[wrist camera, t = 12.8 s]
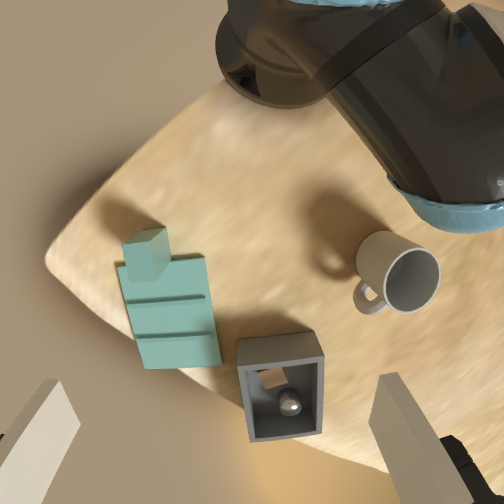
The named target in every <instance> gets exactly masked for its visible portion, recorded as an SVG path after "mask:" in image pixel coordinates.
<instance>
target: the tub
mask: <svg viewBox="0 0 504 504" xmlns="http://www.w3.org/2000/svg"><path fill="white" fill-rule="evenodd" d="M280 367H285V370H286V375H287V380H288V383H285V384H282V385H279V386H276V387H273V388H269V389H265V387H264V385H263V383H262V381H261V379H260V377H259V375H258V371H257V370H262V369H271V368H280ZM237 369H238V375H239V382H240V388H241V393H242V399H243V405H244V411H245V417H246V422H247V428H248V434H249V439H250V442H262V441H272V440H281V439H289V438H296V437H303V436H309V435H316V434H321V433H322V418H323V395H324V353H323V351H322V349H321V346H320V344H319V341H318V339H317V337H316V334H315V332H314V331H308V332H301V333H293V334H285V335H277V336H268V337H259V338H249V339H239V340H237ZM285 388H294V389H296V390H297V391H298V394H299V398H300V402H301V405H302V410H301V411H300V413H298V414H297V415H295V416H284V415H282V414H281V412H280V407H279V402H278V393H279V392H280V391H281V390H283V389H285Z"/></svg>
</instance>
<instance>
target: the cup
mask: <svg viewBox="0 0 504 504" xmlns="http://www.w3.org/2000/svg"><path fill="white" fill-rule="evenodd" d="M356 268H357V271H358V274H359V275H360V277H361V278H362V280H361V281H360V282H359V283H358V284H357V286H356V287H355V290H354V292H353V300H354V303H355V306H356V308H357V309H358V311H360V312H361V313H363V314H366V315H376V314H379V313H380V312H382V311H383V310H385V309H386V308H387V307H388V306H389V307H390V308H391V309H393V310H394V311H395V312H398V313H401V314H410V313H414V312H417V311H419V310H420V309H422V308H424V307H425V306H426V305H427V304H428V303H429V302H430V301H431V300H432V298H433V297H434V296H435V294H436V292H437V290H438V287H439V284H440V280H441V268H440V263H439V261H438V259H437V257H436V256H435V255H434V254H433V253H432V252H431V251H430V250H428V249H426V248H424V247H422V246H420V245H418V244H416V243H414V242H412V241H410V240H408V239H406V238H404V237H402V236H400V235H397V234H395V233H393V232H390V231H377V232H375V233H373V234H371V235H369V236H368V237H367V238H366V239H364V241H363V242H362V243H361V245H360V247H359V249H358V251H357V255H356ZM370 289H372V290H373V291H374V292H375V293H376V294H377V295H378V296H377V297H376V298H375V299H374V300H372V301H369V300H368V299H367V298H366V294H367V292H368V291H369V290H370Z"/></svg>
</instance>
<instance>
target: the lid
mask: <svg viewBox="0 0 504 504" xmlns="http://www.w3.org/2000/svg"><path fill="white" fill-rule="evenodd" d="M122 249H123V254H124V259H125V264H126V265H121V266H118V267H117V270H118V274H119V279H120V283H121V287H122V291H123V295H124V299H125V303H126V307H127V311H128V314H129V318H130V321H131V325H132V329H133V332H134V335H135V339H136V342H137V345H138V349H139V352H140V355H141V358H142V361H143V364H144V367H145V369H162V368H163V369H165V368H192V367H210V366H222V358H221V352H220V347H219V341H218V336H217V330H216V324H215V318H214V312H213V306H212V300H211V294H210V288H209V282H208V275H207V269H206V262H205V257H195V258H186V259H177V260H172V258H171V252H170V246H169V240H168V234H167V228H166V227H164V228H156V229H148V230H142V231H141V232H139V233H138V234H136V235H135V236H134V237H132V238H131V239H129V240H128V241H126V242H125V243H124V244H122Z"/></svg>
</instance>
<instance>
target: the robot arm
mask: <svg viewBox="0 0 504 504" xmlns="http://www.w3.org/2000/svg"><path fill="white" fill-rule="evenodd" d="M227 1H228V12H227V14H226V15H225V16H224V18H223V19H222V21H221V23H220V25H219V28H218V31H217V35H216V41H215V42H216V43H215V46H216V55H217V59H218V63H219V66H220V69H221V71H222V73H223V75H224V77H225V78H226V80H227V81H228V82H229V84H230V85H231V86H232V87H233V88H234V89H235V90H236V91H238V92H239V93H240V94H242V95H243V96H244V97H246V98H248V99H250V100H251V101H254V102H256V103H258V104H261V105H264V106H268V107H273V108H280V109H293V108H300V107H305V106H308V105H311V104H314V103H316V102H318V101H320V100H322V99H323V98H325V97H326V98H327V99H328V100H329V101H330V102H331V104H332V105H333V106H334V107H335V108H336V109H337V110H338V112H339V113H340V114H341V115H342V116H343V118H344V119H345V120H346V121H347V122H348V124H349V125H350V126H351V127H352V128H353V130H354V131H355V132H356V133H357V135H358V136H359V137H360V138H361V140H362V141H363V142H364V144H365V145H366V146H367V147H368V149H369V150H370V151H371V153H372V154H373V155H374V157H375V158H376V159H377V161H378V162H379V163H380V165H381V166H382V168H383V169H384V170H385V172H386V173H387V178H388V180H389V181H390V183H391V184H392V185H393V187H394V188H395V189H396V190H397V191H399V192H400V193H401V194H402V195H403V196H404V197H405V199H406V200H407V201H408V203H409V204H410V206H411V207H412V208H413V210H414V211H415V212H416V214H417V215H418V216H419V217H420V218H421V219H422V220H424V221H426V222H427V223H429V224H430V225H432V226H433V227H436V228H437V229H440V230H444V231H447V232H452V233H460V234H471V233H481V232H486V231H491V230H495V229H498V228H501V227H503V226H504V11H498V10H496V9H493V8H490V7H487V6H484V5H481V4H477V3H475V2H472V3H469V4H468V5H467V6H465V7H463V8H462V9H460V10H458V11H457V12H455V13H454V12H451V11H450V10H449V9H448V8H447V7H446V6H445V4H444V3H443V2H442V1H441V0H227ZM445 7H446V8H445ZM443 8H444V9H443ZM442 9H443V10H442ZM368 423H369V425H370V427H371V430H372V432H373V434H374V437H375V439H376V441H377V444H378V446H379V449H380V451H381V453H382V456H383V458H384V461H385V463H386V466H387V468H388V470H389V473H390V475H391V478H392V480H393V483H394V485H395V488H396V490H397V493H398V496H399V498H400V501H401V503H402V504H504V496H501V495H495V494H494V493H493V492H492V491H491V489H490V488H489V486H488V484H487V483H486V481H485V479H484V478H483V476H482V474H481V473H480V471H479V469H478V468H477V466H476V465H475V463H473V460H472V458H471V457H470V455H468V452H467V450H466V449H465V447H464V446H463V444H462V442H460V441H459V440H458V439H456V438H455V437H453V436H452V435H449V436H446V437H443V438H440V439H439V438H438V437H437V435H436V433H435V432H434V430H433V428H432V427H431V425H430V423H429V422H428V420H427V419H426V417H425V415H424V414H423V412H422V411H421V409H420V407H419V406H418V404H417V403H416V401H415V399H414V398H413V396H412V395H411V393H410V392H409V390H408V388H407V387H406V385H405V384H404V382H403V381H402V379H401V378H400V376H399V375H398V373H397V372H394V373H389V374H384V375H380V376H379V381H378V385H377V390H376V394H375V398H374V402H373V407H372V411H371V415H370V418H369V422H368ZM80 425H81V424H80V422H79V420H78V418H77V416H76V414H75V412H74V410H73V408H72V406H71V404H70V402H69V400H68V398H67V396H66V393H65V391H64V389H63V387H62V384H61V382H60V380H55V379H49V378H47V379H46V380H45V381H44V382H43V384H42V385H41V386H40V387H39V389H38V390H37V391H36V393H35V394H34V395H33V397H32V398H31V399H30V401H29V402H28V403H27V404H26V406H25V407H24V409H23V410H22V411H21V413H20V414H19V415H18V417H17V418H16V420H15V421H14V422H13V424H12V425H11V426H10V428H9V429H8V431H7V432H6V433H5V434H1V435H0V504H41V503H42V501H43V499H44V497H45V494H46V492H47V490H48V488H49V486H50V484H51V482H52V480H53V478H54V476H55V474H56V472H57V470H58V467H59V465H60V463H61V461H62V460H63V457H64V456H65V454H66V452H67V450H68V448H69V446H70V444H71V442H72V440H73V438H74V436H75V434H76V432H77V431H78V429H79V427H80Z"/></svg>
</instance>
